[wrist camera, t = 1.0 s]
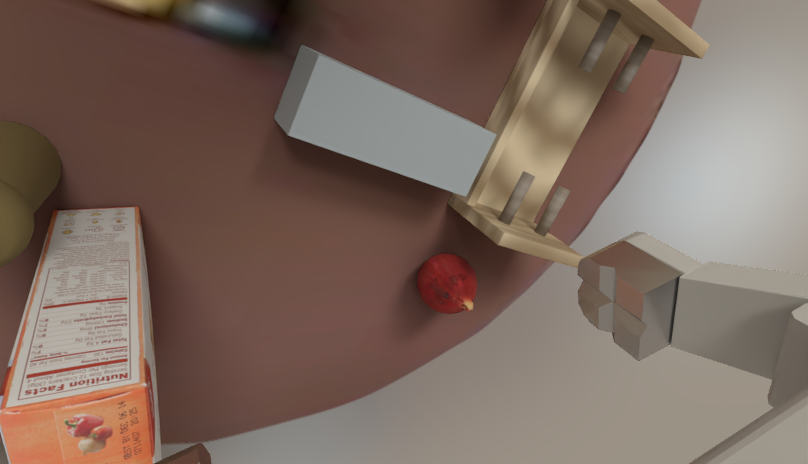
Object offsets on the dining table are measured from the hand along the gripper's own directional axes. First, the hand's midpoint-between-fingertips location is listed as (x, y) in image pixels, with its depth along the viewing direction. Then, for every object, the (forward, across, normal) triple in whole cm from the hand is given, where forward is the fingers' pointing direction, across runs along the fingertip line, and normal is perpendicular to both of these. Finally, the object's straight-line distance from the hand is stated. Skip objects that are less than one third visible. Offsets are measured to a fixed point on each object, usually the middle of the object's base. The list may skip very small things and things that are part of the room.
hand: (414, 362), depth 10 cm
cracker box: (+34, +13, +14) cm, 39 cm away
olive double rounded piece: (+34, +15, +2) cm, 37 cm away
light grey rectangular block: (+34, -12, +8) cm, 37 cm away
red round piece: (+34, -14, +25) cm, 44 cm away
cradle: (+34, -28, +13) cm, 46 cm away
